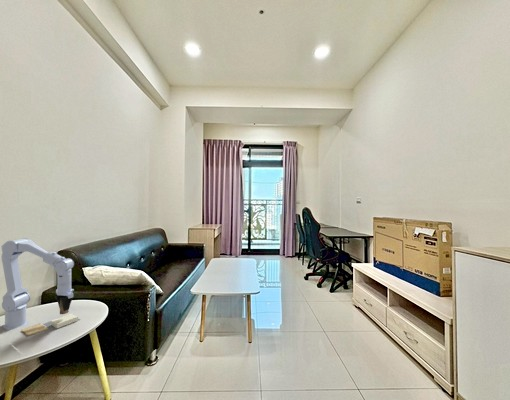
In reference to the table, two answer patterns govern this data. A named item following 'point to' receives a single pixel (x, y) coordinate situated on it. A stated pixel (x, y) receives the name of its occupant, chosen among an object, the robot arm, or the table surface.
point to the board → (34, 329)
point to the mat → (53, 326)
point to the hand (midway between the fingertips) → (64, 309)
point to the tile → (64, 320)
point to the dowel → (62, 309)
